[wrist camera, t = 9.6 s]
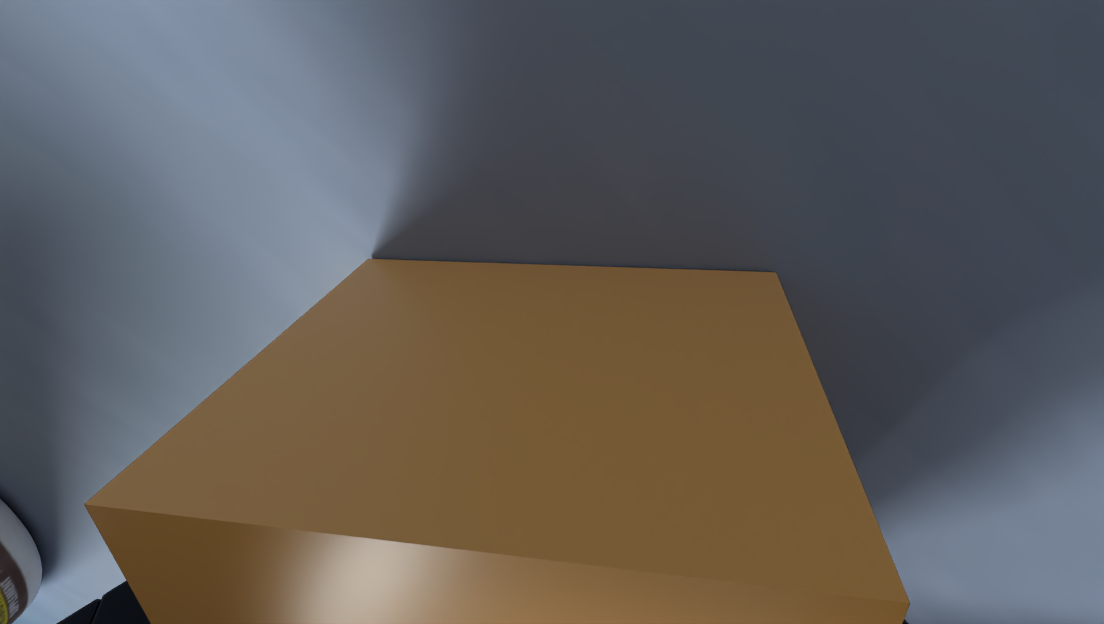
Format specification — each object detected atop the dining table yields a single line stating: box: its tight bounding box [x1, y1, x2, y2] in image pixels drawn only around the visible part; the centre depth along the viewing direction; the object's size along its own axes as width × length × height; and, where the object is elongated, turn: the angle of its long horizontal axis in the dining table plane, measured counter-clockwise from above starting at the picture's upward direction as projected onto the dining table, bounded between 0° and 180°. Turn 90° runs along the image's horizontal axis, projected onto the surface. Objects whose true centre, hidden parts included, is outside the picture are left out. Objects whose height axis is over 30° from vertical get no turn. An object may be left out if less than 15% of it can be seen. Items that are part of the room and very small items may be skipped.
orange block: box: [84, 259, 910, 624], centre depth 7 cm, size 6×6×5 cm
